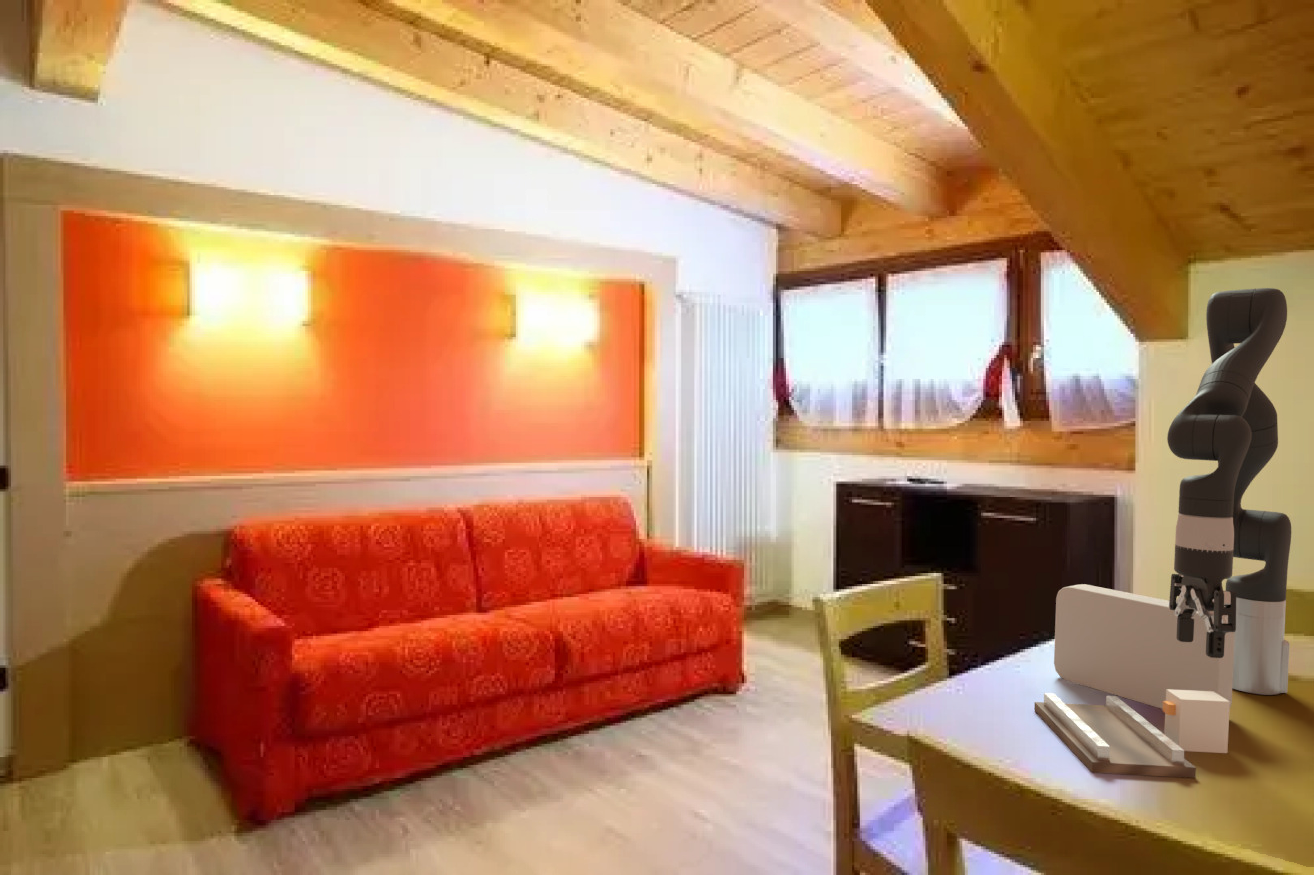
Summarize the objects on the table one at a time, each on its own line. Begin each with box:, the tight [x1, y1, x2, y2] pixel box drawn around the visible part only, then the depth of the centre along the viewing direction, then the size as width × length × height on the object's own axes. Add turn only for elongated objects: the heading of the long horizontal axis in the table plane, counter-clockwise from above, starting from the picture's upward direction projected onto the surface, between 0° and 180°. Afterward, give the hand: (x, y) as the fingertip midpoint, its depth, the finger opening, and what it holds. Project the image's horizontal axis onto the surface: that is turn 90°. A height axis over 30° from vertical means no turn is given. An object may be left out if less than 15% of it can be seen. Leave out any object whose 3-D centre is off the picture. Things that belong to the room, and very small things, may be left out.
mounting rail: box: [1043, 692, 1185, 764], centre depth 132 cm, size 12×22×2 cm, turn 174°
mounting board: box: [1033, 701, 1197, 779], centre depth 132 cm, size 14×24×2 cm, turn 174°
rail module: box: [1162, 689, 1231, 754], centre depth 130 cm, size 8×4×8 cm, turn 84°
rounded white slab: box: [1053, 583, 1235, 710], centre depth 152 cm, size 29×8×18 cm, turn 33°
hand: (1199, 649), depth 130 cm, fingers open, 8 cm apart
